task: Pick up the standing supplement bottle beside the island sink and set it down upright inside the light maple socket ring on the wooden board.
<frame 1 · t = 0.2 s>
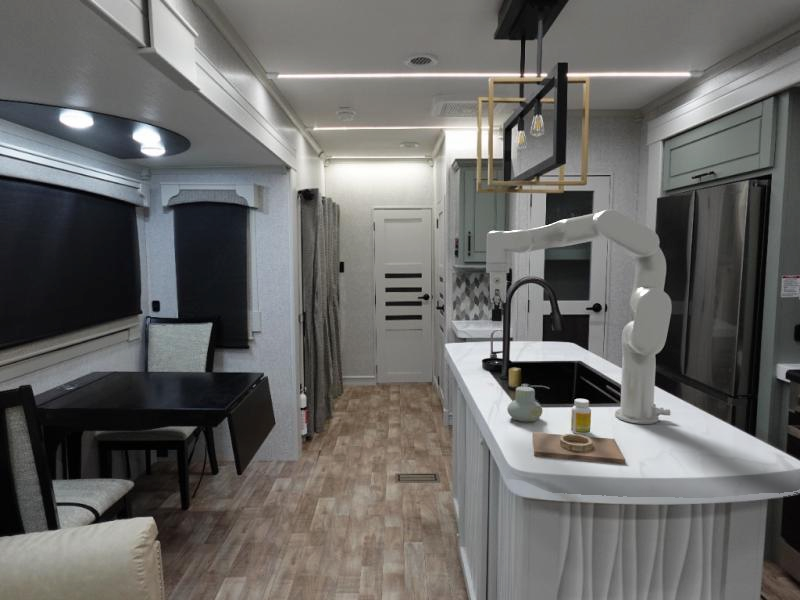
hand: (496, 319, 163), 31 cm above the counter, tool pointing down, fingers open, 9 cm apart
supplement bottle: (580, 432, 144), on the counter
air freshener: (524, 419, 155), on the counter
wooden board: (575, 449, 131), on the counter
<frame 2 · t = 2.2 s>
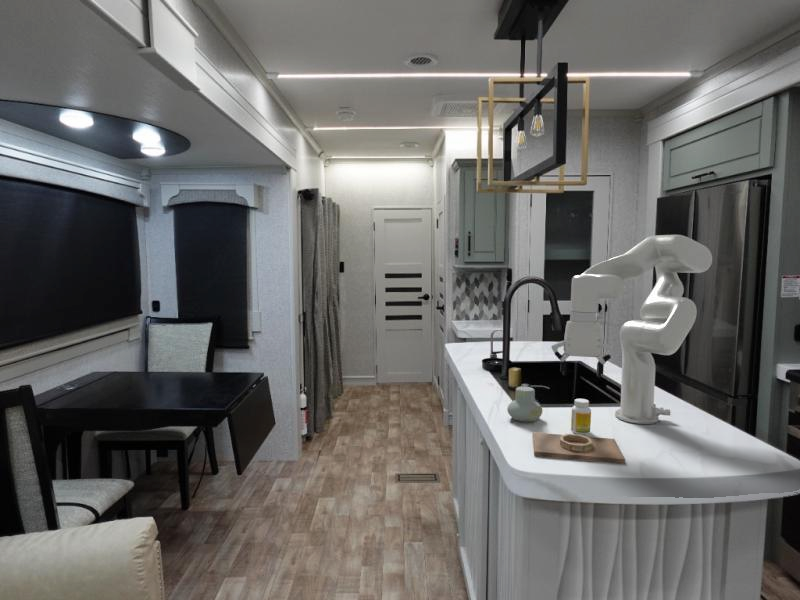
hand: (581, 375, 142), 17 cm above the counter, tool pointing down, fingers open, 9 cm apart
nothing on the counter moved.
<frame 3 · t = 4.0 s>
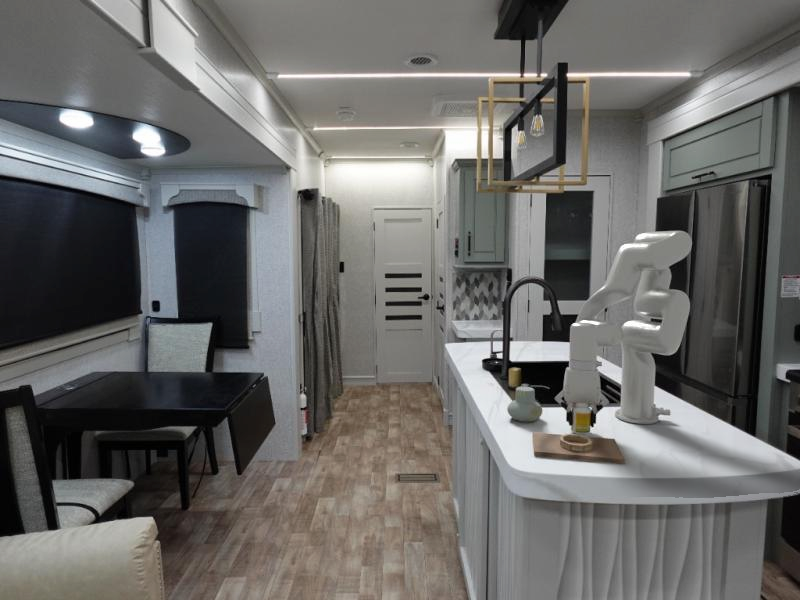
hand: (580, 424, 143), 2 cm above the counter, tool pointing down, fingers closed on supplement bottle, 5 cm apart
supplement bottle: (580, 432, 144), on the counter, touching gripper
everything else where it was.
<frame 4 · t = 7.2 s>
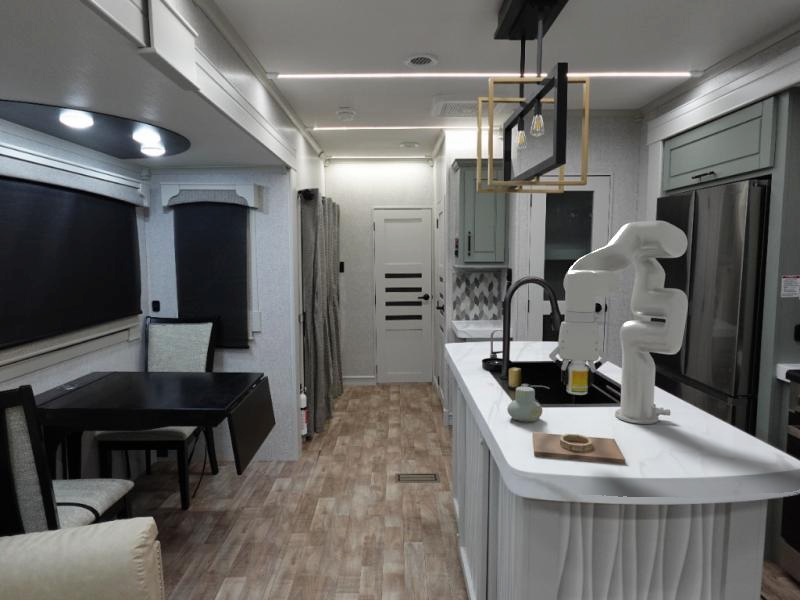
hand: (577, 384, 130), 18 cm above the counter, tool pointing down, fingers closed on supplement bottle, 5 cm apart
supplement bottle: (577, 393, 130), point 15 cm above the counter, touching gripper
everything else where it was.
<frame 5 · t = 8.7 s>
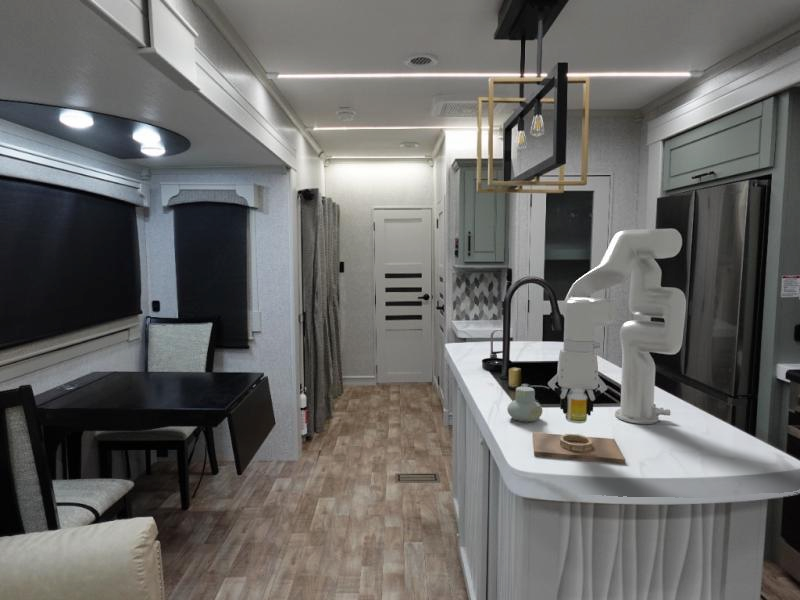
hand: (576, 412, 130), 10 cm above the counter, tool pointing down, fingers closed on supplement bottle, 5 cm apart
supplement bottle: (576, 421, 130), point 8 cm above the counter, touching gripper
everything else where it was.
when the fingers open (4 cm above the counter, at t = 10.2 s): supplement bottle stays where it is, resting on wooden board.
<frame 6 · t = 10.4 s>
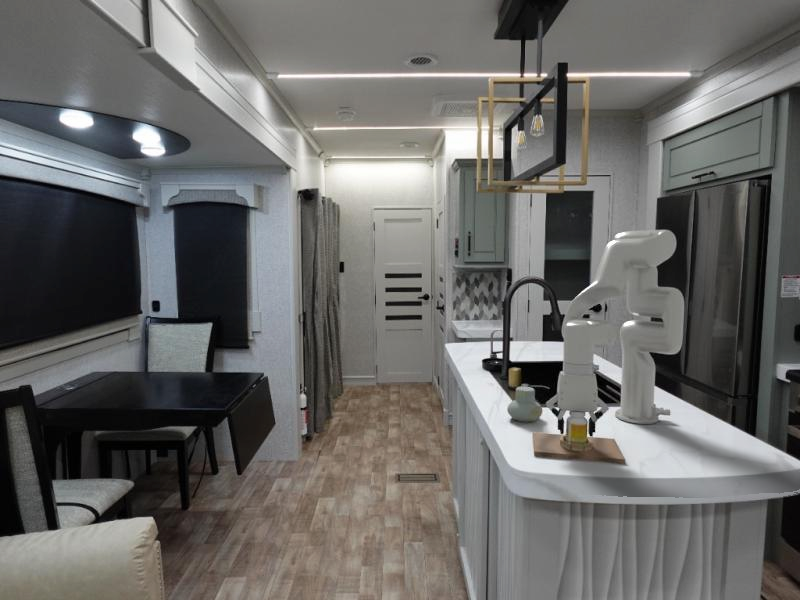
hand: (576, 433, 130), 4 cm above the counter, tool pointing down, fingers open, 6 cm apart
supplement bottle: (576, 445, 131), point 1 cm above the counter, touching wooden board
everything else where it was.
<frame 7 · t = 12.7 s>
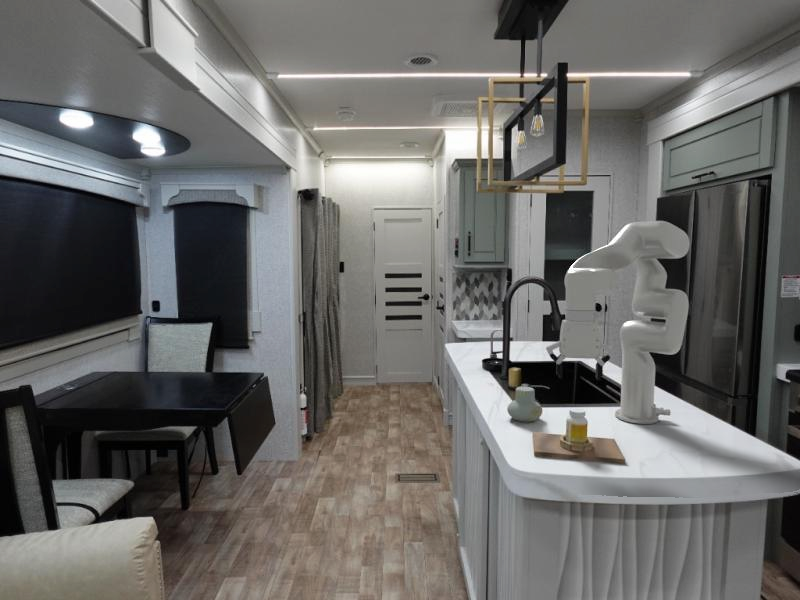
hand: (579, 378, 132), 19 cm above the counter, tool pointing down, fingers open, 9 cm apart
nothing on the counter moved.
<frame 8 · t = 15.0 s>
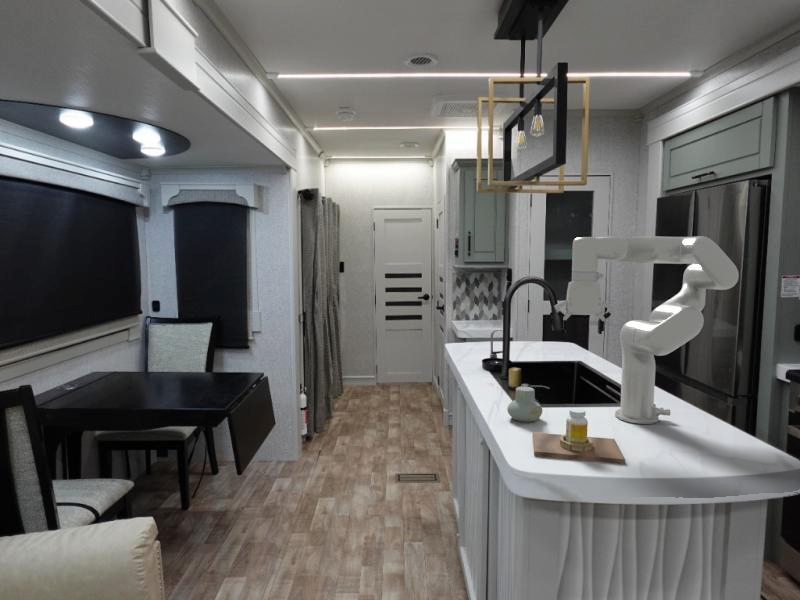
hand: (583, 333, 150), 28 cm above the counter, tool pointing down, fingers open, 9 cm apart
nothing on the counter moved.
at the end: supplement bottle 0.3 cm off-centre on the wooden board, point 1.0 cm above the wooden board's base; supplement bottle tilted 0°; the gripper is holding nothing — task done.
